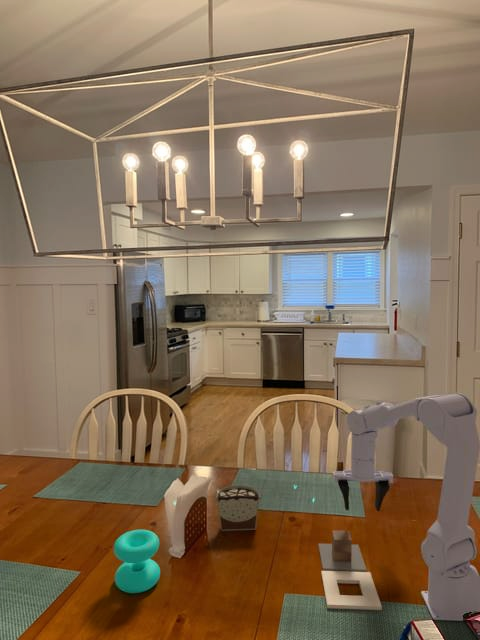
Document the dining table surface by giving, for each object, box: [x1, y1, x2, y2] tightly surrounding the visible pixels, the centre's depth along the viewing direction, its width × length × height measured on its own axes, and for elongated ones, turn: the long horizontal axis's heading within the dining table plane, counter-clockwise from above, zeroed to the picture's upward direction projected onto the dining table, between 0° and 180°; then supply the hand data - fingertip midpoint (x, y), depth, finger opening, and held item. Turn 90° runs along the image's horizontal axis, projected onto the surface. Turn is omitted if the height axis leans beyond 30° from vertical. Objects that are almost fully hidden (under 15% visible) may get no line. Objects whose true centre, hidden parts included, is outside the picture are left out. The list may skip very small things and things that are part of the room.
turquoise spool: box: [113, 529, 161, 594], centre depth 105 cm, size 10×10×10 cm
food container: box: [215, 484, 262, 532], centre depth 128 cm, size 12×6×10 cm, turn 92°
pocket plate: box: [321, 570, 383, 611], centre depth 101 cm, size 11×11×1 cm
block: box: [331, 529, 353, 562], centre depth 113 cm, size 4×4×6 cm
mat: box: [317, 543, 367, 572], centre depth 113 cm, size 10×10×1 cm
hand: (362, 508), depth 118 cm, fingers open, 7 cm apart
